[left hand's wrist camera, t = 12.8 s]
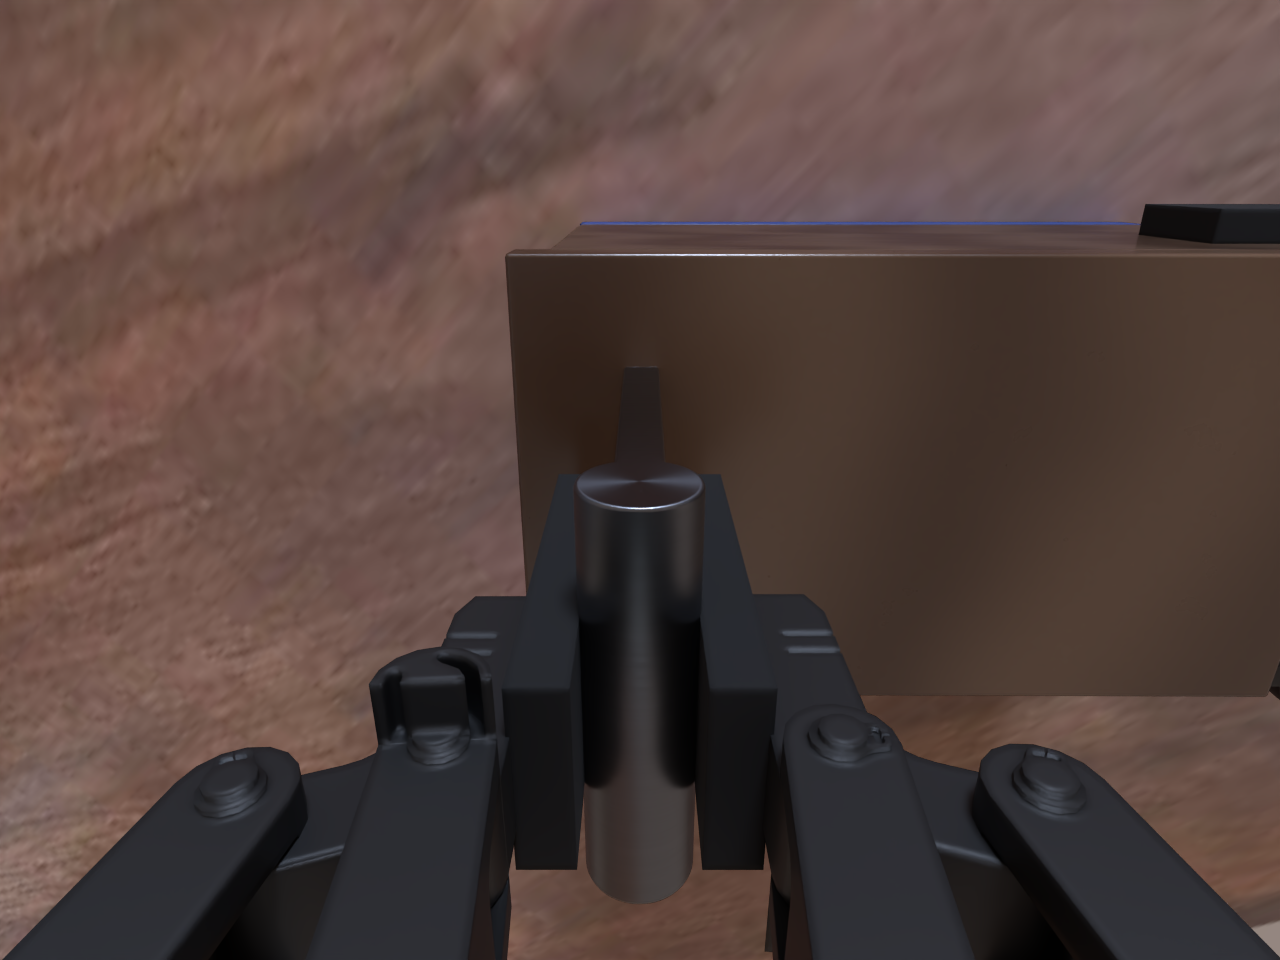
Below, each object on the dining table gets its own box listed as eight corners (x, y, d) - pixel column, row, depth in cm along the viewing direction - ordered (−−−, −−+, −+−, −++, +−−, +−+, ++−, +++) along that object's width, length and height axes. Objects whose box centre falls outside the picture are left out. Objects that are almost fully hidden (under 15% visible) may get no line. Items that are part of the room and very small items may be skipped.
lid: (536, 672, 19) (465, 1003, 12) (511, 249, 16) (381, 323, 8) (1241, 675, 19) (1639, 1009, 12) (1389, 249, 16) (2131, 325, 8)
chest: (590, 518, 28) (567, 672, 19) (582, 221, 24) (548, 248, 16) (1055, 519, 28) (1240, 674, 19) (1121, 222, 24) (1388, 249, 16)
